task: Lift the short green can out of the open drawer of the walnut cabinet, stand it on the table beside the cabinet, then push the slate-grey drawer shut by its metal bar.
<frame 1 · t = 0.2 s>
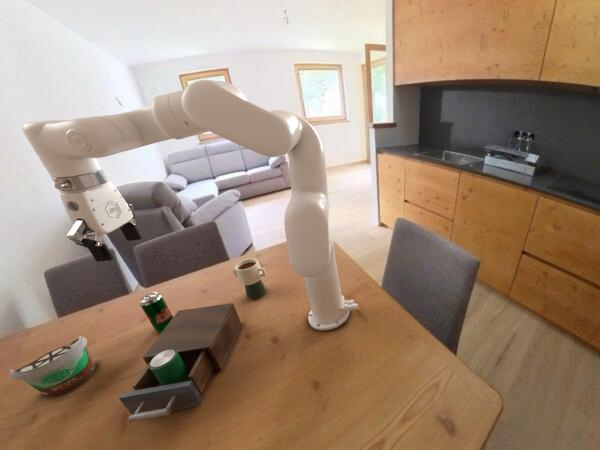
hand: (121, 249, 67), 31 cm above the table, tool pointing down, fingers open, 9 cm apart
drawer: (174, 379, 65), point 4 cm above the table, slide at 8.0 cm, touching can
cabinet: (204, 350, 77), on the table
soda can: (166, 327, 86), on the table
food container: (73, 384, 70), on the table
can: (179, 384, 66), point 2 cm above the table, touching drawer
character mug: (257, 295, 98), on the table
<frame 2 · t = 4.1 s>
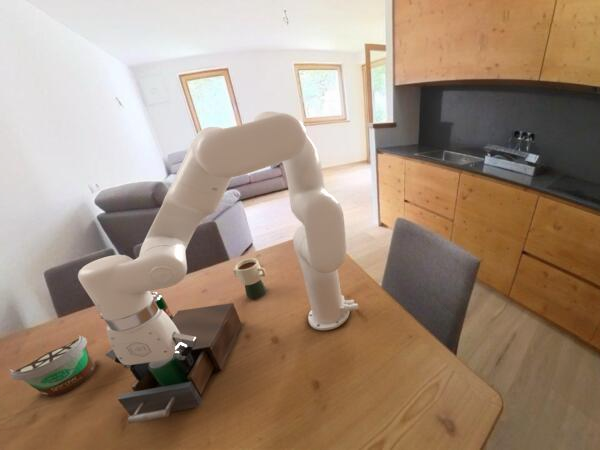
hand: (166, 370, 63), 8 cm above the table, tool pointing down, fingers open, 8 cm apart
drawer: (174, 380, 65), point 4 cm above the table, slide at 8.3 cm, touching can, gripper
everything else where it was.
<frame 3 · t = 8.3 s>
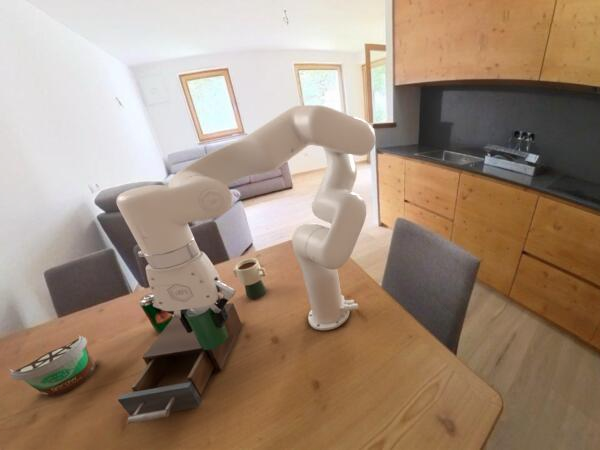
hand: (208, 324, 59), 20 cm above the table, tool pointing down, fingers closed on can, 5 cm apart
drawer: (174, 380, 65), point 4 cm above the table, slide at 8.4 cm
can: (214, 339, 61), point 16 cm above the table, touching gripper
everything else where it was.
when the fingers open (4 cm above the table, at t = 12.1 s): can stays where it is, on the table.
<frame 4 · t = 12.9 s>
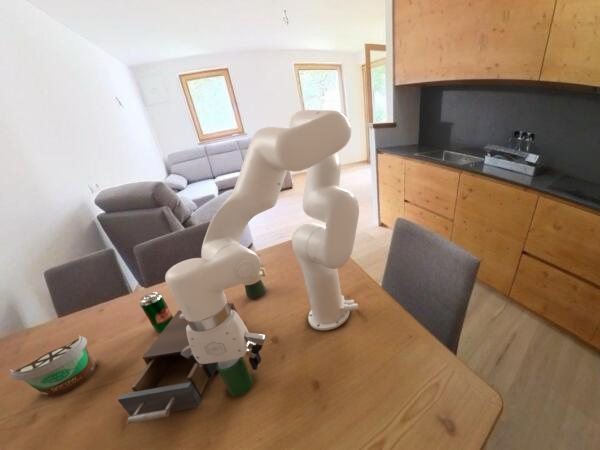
hand: (235, 368, 65), 6 cm above the table, tool pointing down, fingers open, 9 cm apart
can: (241, 385, 67), on the table
everything else where it was.
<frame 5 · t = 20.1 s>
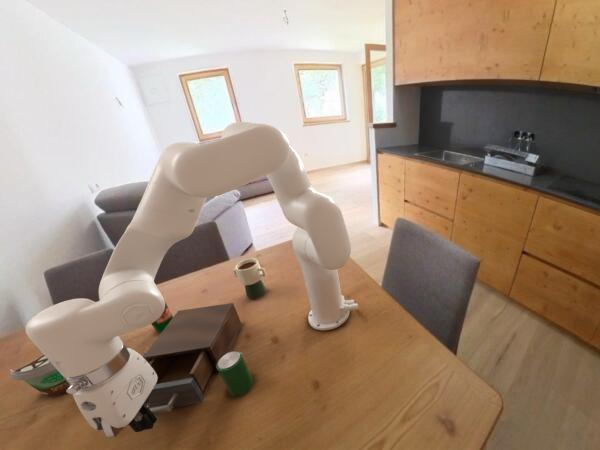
hand: (146, 425, 56), 4 cm above the table, tool pointing down, fingers closed
drawer: (176, 376, 65), point 4 cm above the table, slide at 7.4 cm, touching gripper
everything else where it was.
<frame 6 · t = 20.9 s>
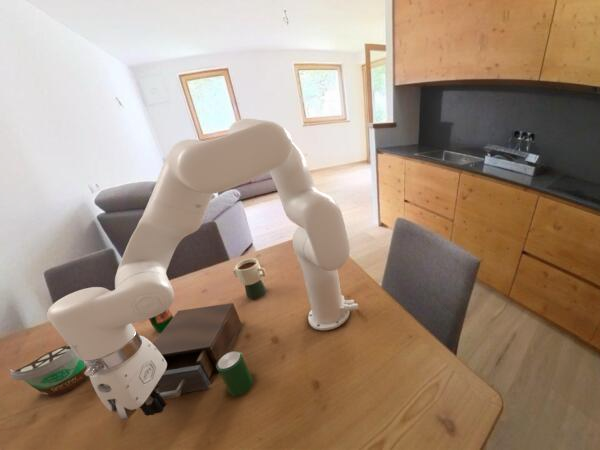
hand: (156, 410, 59), 4 cm above the table, tool pointing down, fingers closed
drawer: (183, 364, 68), point 4 cm above the table, slide at 4.1 cm, touching gripper
everything else where it was.
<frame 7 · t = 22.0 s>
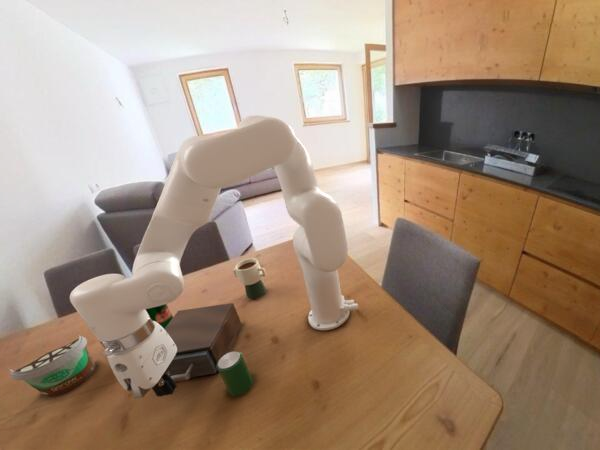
hand: (167, 391, 62), 4 cm above the table, tool pointing down, fingers closed
drawer: (191, 350, 72), point 4 cm above the table, slide at 0.1 cm, touching gripper
everything else where it was.
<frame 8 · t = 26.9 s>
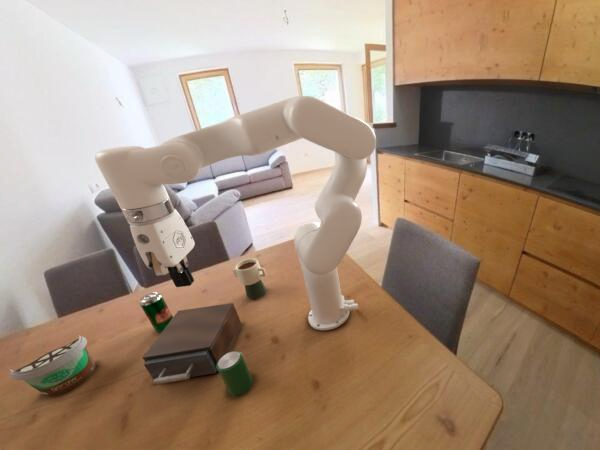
hand: (185, 284, 63), 25 cm above the table, tool pointing down, fingers closed
drawer: (191, 350, 72), point 4 cm above the table, slide at 0.0 cm
everything else where it was.
at the end: can inside the target area (0.3 cm from its centre), on the table; can tilted 0°; drawer slide at 0.0 cm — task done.
